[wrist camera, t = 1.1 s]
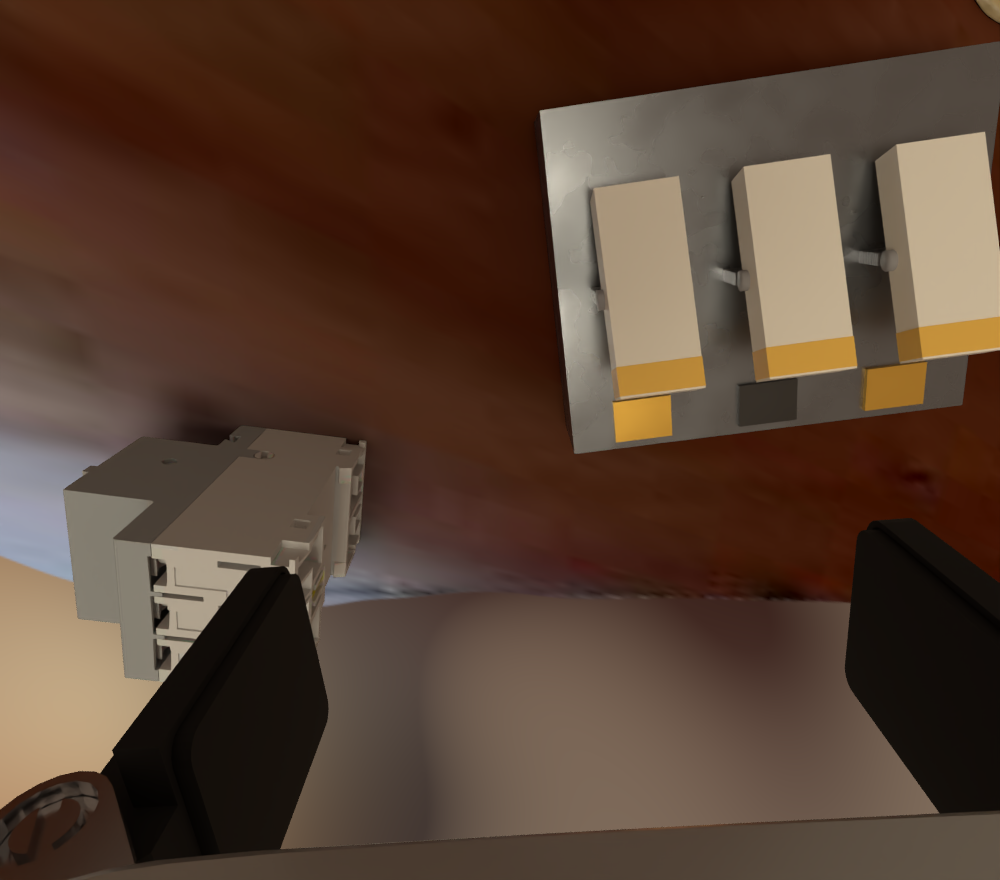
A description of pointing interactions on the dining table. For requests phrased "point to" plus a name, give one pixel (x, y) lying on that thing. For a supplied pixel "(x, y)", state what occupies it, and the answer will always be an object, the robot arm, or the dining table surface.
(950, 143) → the block
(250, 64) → the dining table surface
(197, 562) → the circuit breaker
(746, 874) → the robot arm
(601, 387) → the console
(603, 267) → the block
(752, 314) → the rocker
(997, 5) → the hand bell
